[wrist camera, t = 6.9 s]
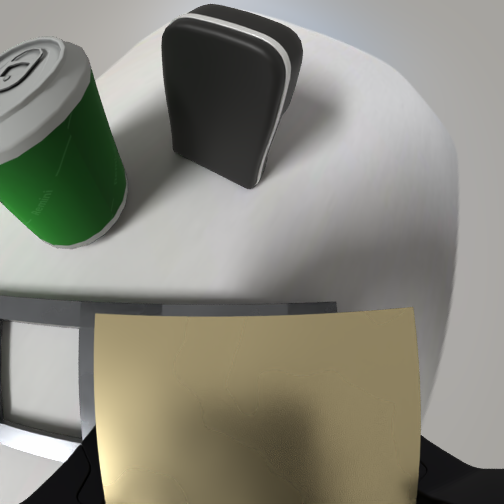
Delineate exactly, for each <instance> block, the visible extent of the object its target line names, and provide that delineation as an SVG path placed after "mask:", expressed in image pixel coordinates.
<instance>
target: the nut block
mask: <svg viewBox="0 0 504 504" xmlns="http://www.w3.org/2000/svg"><path fill="white" fill-rule="evenodd" d="M94 399H95V418H96V432H97V443H98V453H99V461H100V469H101V476H102V483H103V490H104V496H105V501H106V504H416V498H417V488H418V476H419V461H420V434H421V404H420V376H419V360H418V347H417V336H416V327H415V318H414V310H413V307H407V308H396V309H385V310H372V311H359V312H344V313H326V314H306V315H280V316H234V317H187V316H142V315H116V314H97V313H95V328H94Z"/></svg>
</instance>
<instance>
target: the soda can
mask: <svg viewBox="0 0 504 504" xmlns="http://www.w3.org/2000/svg"><path fill="white" fill-rule="evenodd" d="M127 193H128V184H127V176H126V172H125V169H124V167H123V164H122V161H121V158H120V156H119V153H118V150H117V147H116V144H115V142H114V139H113V136H112V133H111V130H110V127H109V124H108V121H107V118H106V115H105V112H104V109H103V106H102V102H101V99H100V96H99V93H98V89H97V86H96V83H95V79H94V76H93V73H92V69H91V66H90V62H89V59H88V57H87V55H86V54H85V52H84V50H83V49H82V48H81V47H80V46H77V45H75V44H72V43H70V42H65V41H63V40H62V39H59V38H57V37H54V36H44V37H38V38H34V39H31V40H27V41H25V42H22V43H20V44H18V45H16V46H14V47H12V48H10V49H8V50H7V51H5V52H3V53H2V54H1V55H0V202H1V203H2V204H3V205H4V206H5V207H6V208H7V209H8V210H9V211H10V212H11V213H13V214H14V215H15V216H16V217H17V218H18V219H19V220H20V221H21V222H22V223H23V224H24V225H25V226H27V227H28V228H29V229H30V230H31V231H32V232H33V233H34V234H35V235H37V236H38V237H39V238H40V239H41V240H42V241H43V242H45V243H47V244H49V245H51V246H53V247H56V248H62V249H75V248H78V247H82V246H85V245H89V244H90V243H92V242H93V241H95V240H96V239H98V238H100V237H101V236H103V235H104V234H105V233H106V232H107V231H108V230H109V229H110V228H111V227H112V226H113V224H114V223H115V222H116V221H117V220H118V218H119V216H120V214H121V212H122V210H123V208H124V206H125V203H126V198H127Z"/></svg>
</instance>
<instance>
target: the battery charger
mask: <svg viewBox="0 0 504 504" xmlns="http://www.w3.org/2000/svg"><path fill="white" fill-rule="evenodd" d="M161 46H162V66H163V78H164V87H165V94H166V100H167V107H168V113H169V118H170V124H171V133H172V142H173V150H174V152H176V153H178V154H180V155H182V156H184V157H185V158H187V159H189V160H191V161H193V162H195V163H197V164H199V165H201V166H203V167H205V168H207V169H209V170H211V171H213V172H215V173H217V174H219V175H221V176H223V177H225V178H227V179H229V180H231V181H233V182H235V183H237V184H239V185H241V186H243V187H245V188H247V189H252V188H253V187H254V185H257V183H258V182H259V180H260V177H261V175H262V174H263V172H264V169H265V165H266V161H267V156H268V152H269V148H270V145H271V142H272V140H273V138H274V135H275V132H276V130H277V127H278V124H279V121H280V119H281V116H282V115H283V113H284V112H285V111H286V109H287V108H288V106H289V104H290V101H291V98H292V95H293V92H294V89H295V86H296V82H297V79H298V75H299V71H300V67H301V63H302V56H303V48H302V44H301V40H300V39H299V37H298V35H297V34H296V33H295V32H294V31H293V30H291V29H290V28H289V27H287V26H285V25H283V24H281V23H278V22H275V21H273V20H270V19H267V18H264V17H261V16H259V15H256V14H253V13H249V12H246V11H242V10H238V9H235V8H231V7H226V6H222V5H216V4H208V5H203V6H200V7H198V8H196V9H194V10H192V11H191V12H189V13H187V14H183V15H181V16H179V17H177V18H175V19H174V20H172V22H171V23H170V24H169V26H168V27H166V29H165V31H164V33H163V36H162V45H161Z"/></svg>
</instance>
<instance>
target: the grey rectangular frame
mask: <svg viewBox="0 0 504 504" xmlns="http://www.w3.org/2000/svg"><path fill="white" fill-rule="evenodd" d="M95 313H97V314H116V315H142V316H187V317H234V316H280V315H306V314H326V313H337V306H336V302H317V303H289V304H242V305H178V304H132V303H105V302H83V301H66V300H50V299H36V298H23V297H11V296H0V443H1V444H3V445H6V446H9V447H12V448H15V449H18V450H21V451H25V452H28V453H31V454H35V455H38V456H42V457H46V458H49V459H53V460H57V461H62V462H65V461H66V460H67V459H68V458H69V457H70V455H71V454H72V453H73V452H74V451H75V449H76V448H77V447H78V446H79V444H81V442H82V441H83V439H84V438H85V437H86V436H87V434H88V433H89V432H90V431H91V429H92V428H93V427H94V426H95V424H96V418H95V399H94V328H95ZM2 320H4V321H11V322H19V323H27V324H35V325H45V326H54V327H65V328H77V329H79V400H80V417H81V430H82V438H76V437H71V436H66V435H61V434H56V433H52V432H47V431H43V430H39V429H35V428H31V427H27V426H24V425H20V424H17V423H13V422H10V421H7V420H3V409H2V394H1V335H2Z"/></svg>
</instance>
